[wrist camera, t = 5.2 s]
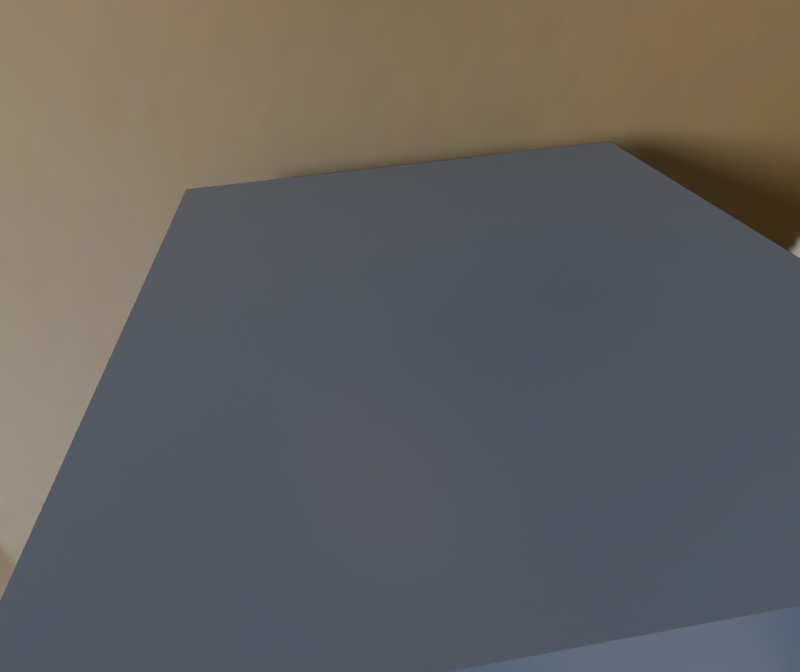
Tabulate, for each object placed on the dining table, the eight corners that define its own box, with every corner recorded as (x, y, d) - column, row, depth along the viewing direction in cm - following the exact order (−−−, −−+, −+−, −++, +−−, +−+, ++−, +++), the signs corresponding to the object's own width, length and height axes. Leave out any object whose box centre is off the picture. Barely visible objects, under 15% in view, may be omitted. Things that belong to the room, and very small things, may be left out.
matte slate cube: (571, 444, 15) (824, 899, 8) (269, 492, 15) (244, 1034, 7) (609, 141, 11) (1232, 524, 4) (186, 189, 10) (-76, 770, 3)
